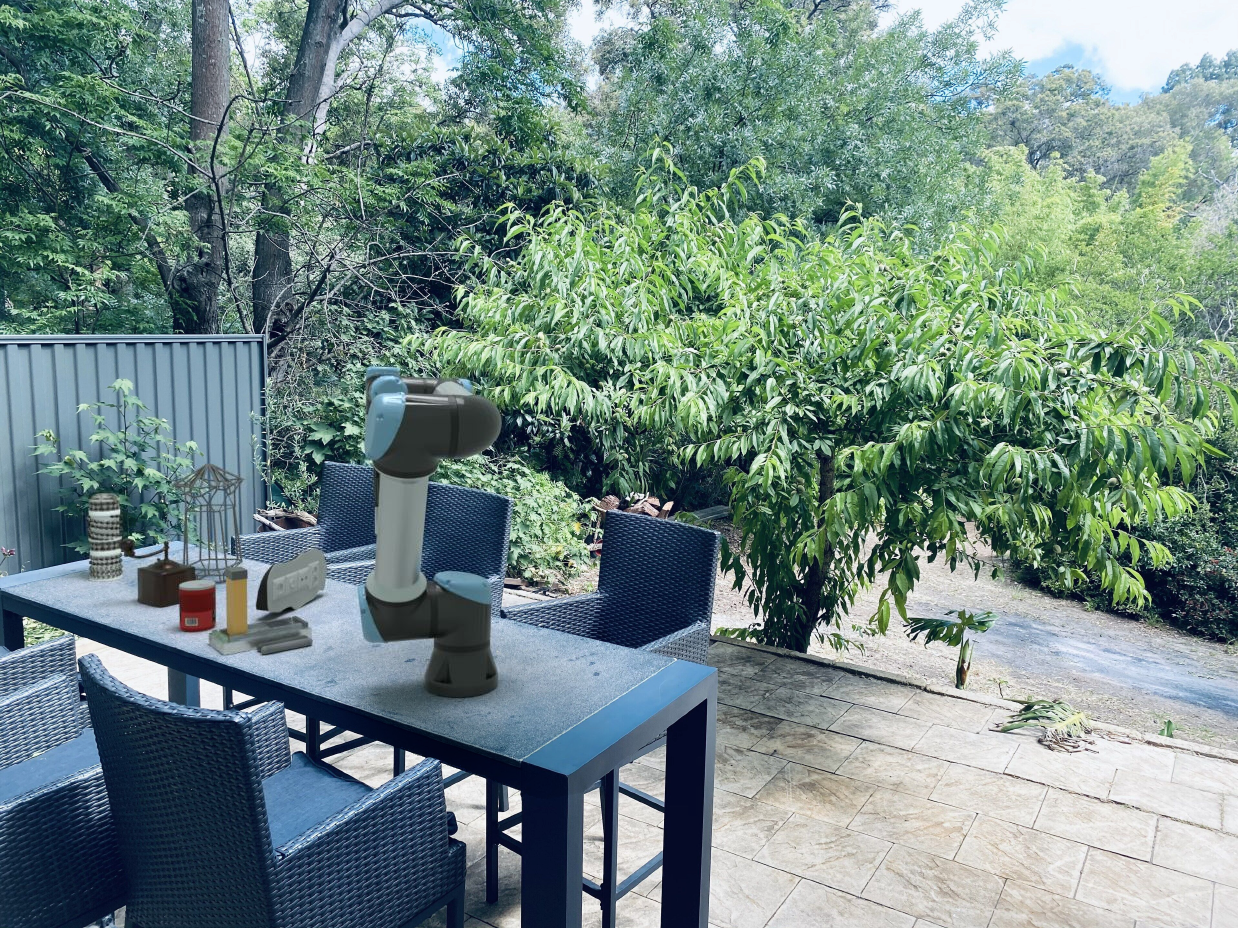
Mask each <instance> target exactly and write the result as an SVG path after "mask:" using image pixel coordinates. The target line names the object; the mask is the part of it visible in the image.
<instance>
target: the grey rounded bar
mask: <svg viewBox="0 0 1238 928" xmlns="http://www.w3.org/2000/svg"><path fill="white" fill-rule="evenodd" d="M313 642H314V641H313V638H308V636H306V635H302V636H297V637H291V638H286V639H281V640H276V641H271V642H265V643H260V644H258V645H257V649H256V650H257V651H258V652H261V654H262V655H268V654H273V653H278V652H283V651H288V650H292V649H298V648H303V647H308V646H312V644H313Z"/></svg>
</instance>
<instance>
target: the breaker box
mask: <svg viewBox="0 0 1238 928" xmlns="http://www.w3.org/2000/svg"><path fill="white" fill-rule="evenodd" d="M312 632H313V630H312V627H311V626H309V622H308V621H306V620H304V619H302V618H301V617H299V616H298V615H294V616H293V615H292V616H287V617H282V618H276V619H275V618H274V619H271V620H265V621H257V622H253V623H247V632H246V633H241V634H235V635H229V634H228V633H227V627H224V628H219V629H218V630H217V629H213V630H211V632H209V633H208V644H209V645H210V646H211V647H212V648H214V649H215V650H216V651H218V652H219V653H221V654H222V656H228V655H227V654H229V655H233V654H237V653H238V652H239V653H244V652H248V650H249V651H252V650H253V651H254V650H257V645H258V644H260V643H265V642H271V641H276V640H281V639H286V638H291V637H297V636H302V635H306V636H308V638H311V639H313V638H312V637H313V635H312V634H313V633H312ZM243 651H244V652H243ZM239 653H238V654H239Z"/></svg>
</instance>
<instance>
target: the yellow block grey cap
mask: <svg viewBox="0 0 1238 928" xmlns="http://www.w3.org/2000/svg"><path fill="white" fill-rule="evenodd" d="M224 568H225V567H224ZM224 571H225V575H226V576H225V580H226V581H225V585H226V586H225V587H226V588H225V592H226V594H225V595H226V599H225V600H226V602H225V605H226V607H225V609H226V628H227V633H228V634H229V635H235V634H241V633H246V632H247V624H248V576H249V575H248V573H249V571H248V569H247V568H244V566H243V567H242V566H237V567H235V566H233V567H232V568H231V567H230V568H225V570H224Z"/></svg>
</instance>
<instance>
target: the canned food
mask: <svg viewBox="0 0 1238 928" xmlns="http://www.w3.org/2000/svg"><path fill="white" fill-rule="evenodd" d="M216 586H217V585H216V583H215V582H214V580H208V579H200V580H195V581H188V582H184V583H182V584H180V585H179V604H178V605H179V606H178V610H179V612H178V613H179V616H178V617H179V629H180V630H181V631H183V632H186V633H198V632H205V631H209V630H211V629H213V628H215V627H216V625H217V590H216V588H217V587H216Z"/></svg>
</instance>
